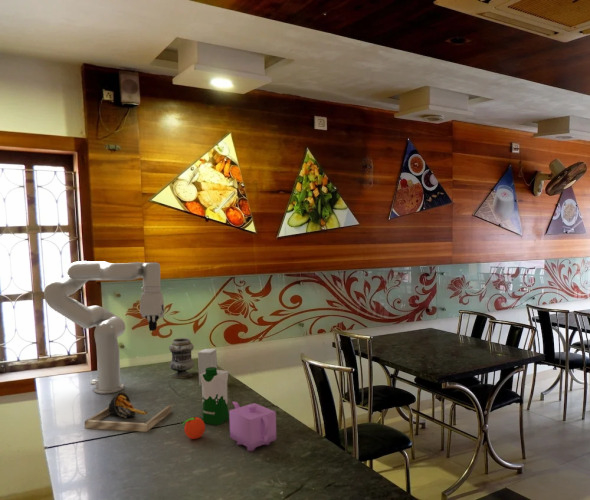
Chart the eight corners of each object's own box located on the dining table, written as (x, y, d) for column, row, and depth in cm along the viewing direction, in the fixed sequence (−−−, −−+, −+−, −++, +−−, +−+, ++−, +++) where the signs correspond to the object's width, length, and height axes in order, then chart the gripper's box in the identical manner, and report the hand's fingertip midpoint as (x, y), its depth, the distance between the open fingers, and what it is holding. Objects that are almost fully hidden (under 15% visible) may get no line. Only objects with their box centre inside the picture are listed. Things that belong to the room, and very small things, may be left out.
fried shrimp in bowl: (119, 396, 192) (155, 385, 187) (119, 425, 188) (157, 414, 182) (102, 395, 185) (139, 383, 179) (102, 424, 180) (140, 413, 175)
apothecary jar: (181, 380, 229) (180, 343, 228) (164, 377, 235) (163, 340, 235) (199, 374, 239) (198, 338, 238) (182, 371, 245) (181, 336, 245)
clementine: (184, 444, 156) (183, 423, 156) (179, 437, 163) (178, 416, 162) (208, 439, 160) (207, 418, 160) (202, 432, 166) (201, 412, 166)
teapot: (281, 446, 153) (280, 408, 153) (255, 456, 147) (254, 416, 146) (245, 429, 168) (244, 393, 168) (221, 437, 162) (220, 400, 161)
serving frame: (84, 428, 173) (84, 421, 173) (114, 408, 192) (114, 402, 192) (146, 431, 168) (146, 424, 168) (171, 411, 187) (171, 405, 187)
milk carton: (198, 423, 174) (197, 369, 174) (213, 414, 183) (211, 363, 182) (219, 426, 171) (217, 371, 170) (232, 418, 179) (231, 365, 178)
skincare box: (211, 386, 218) (210, 352, 218) (197, 386, 219) (196, 352, 219) (218, 381, 226) (217, 348, 226) (204, 380, 228) (204, 348, 227)
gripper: (132, 290, 214) (133, 331, 214) (162, 290, 211) (163, 332, 211) (141, 288, 221) (142, 328, 222) (171, 289, 218) (171, 329, 218)
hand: (152, 330), depth 216 cm, fingers closed
